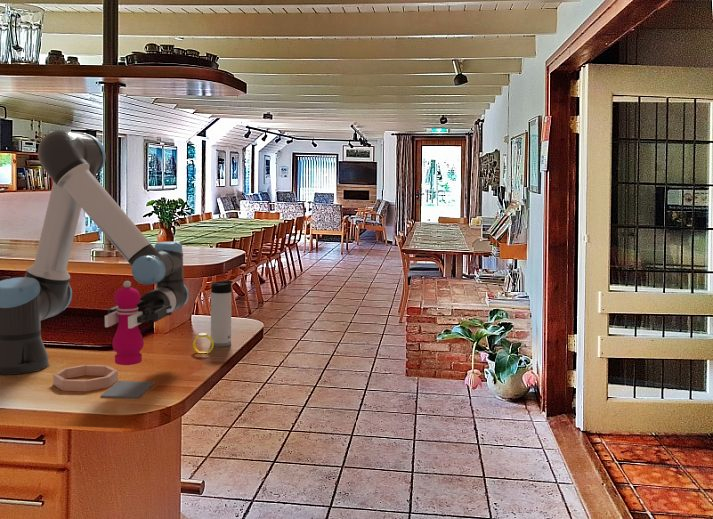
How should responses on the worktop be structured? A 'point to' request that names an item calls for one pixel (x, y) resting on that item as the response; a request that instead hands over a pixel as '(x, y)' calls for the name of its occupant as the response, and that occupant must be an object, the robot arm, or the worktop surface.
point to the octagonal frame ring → (85, 385)
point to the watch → (203, 336)
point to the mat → (127, 389)
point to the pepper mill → (126, 338)
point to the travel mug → (221, 313)
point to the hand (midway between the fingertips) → (118, 322)
